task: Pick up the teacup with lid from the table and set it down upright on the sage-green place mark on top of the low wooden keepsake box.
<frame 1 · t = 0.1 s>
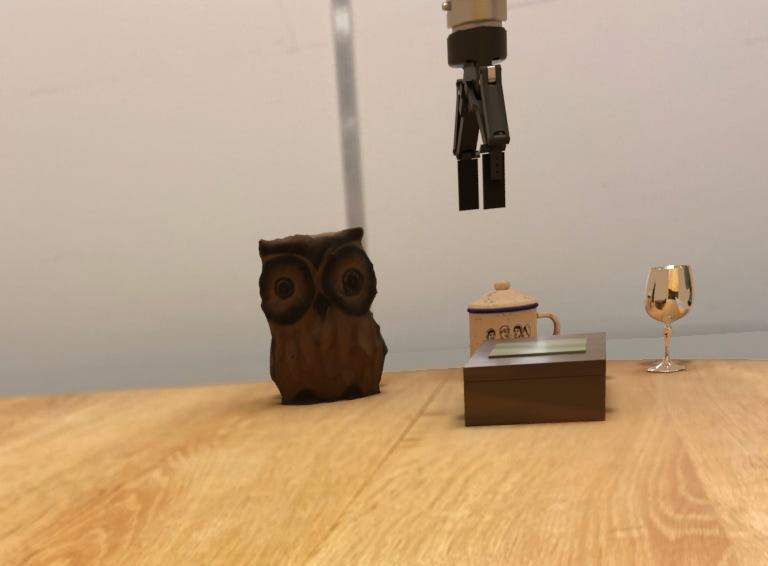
hand: (481, 209, 142), 20 cm above the table, tool pointing down, fingers open, 13 cm apart
teacup with lid: (514, 373, 141), on the table
owl: (329, 396, 138), on the table
wineglass: (666, 370, 132), on the table
wooden keepsake box: (539, 403, 118), on the table
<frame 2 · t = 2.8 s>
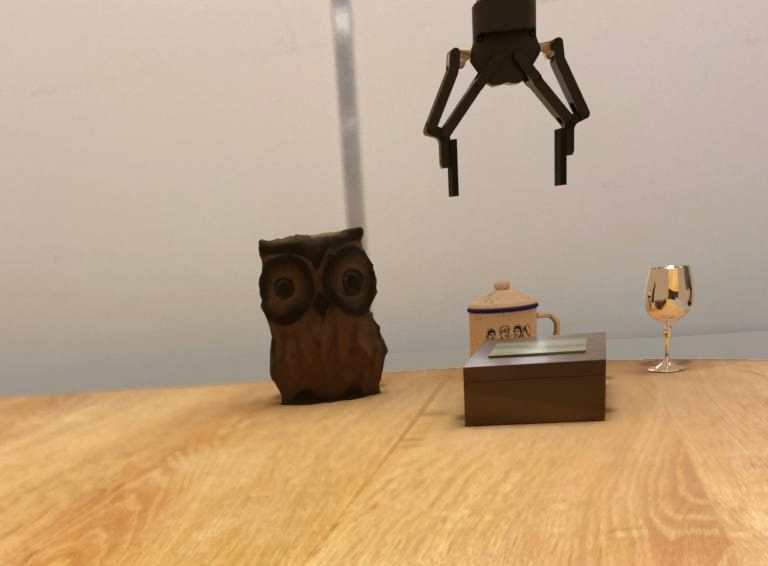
hand: (507, 191, 134), 22 cm above the table, tool pointing down, fingers open, 13 cm apart
nothing on the table moved.
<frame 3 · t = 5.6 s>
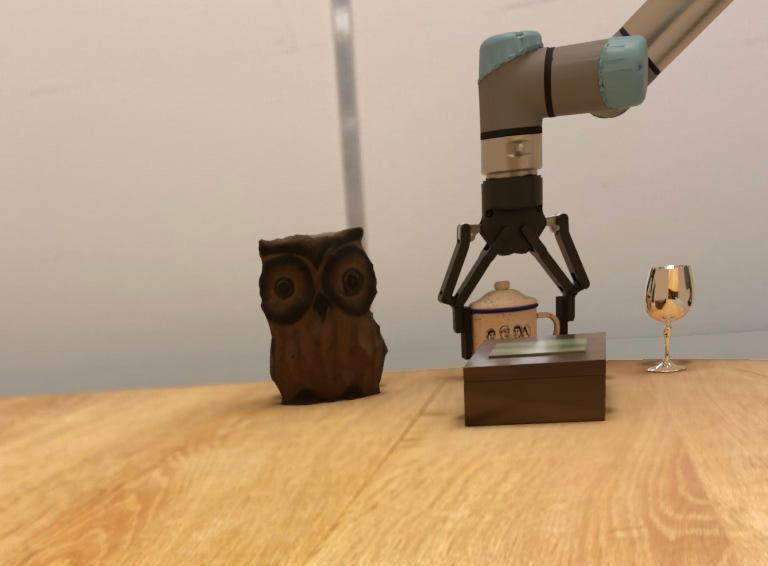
hand: (514, 353, 140), 2 cm above the table, tool pointing down, fingers closed on teacup with lid, 12 cm apart
teacup with lid: (514, 374, 141), on the table, touching gripper
everything else where it was.
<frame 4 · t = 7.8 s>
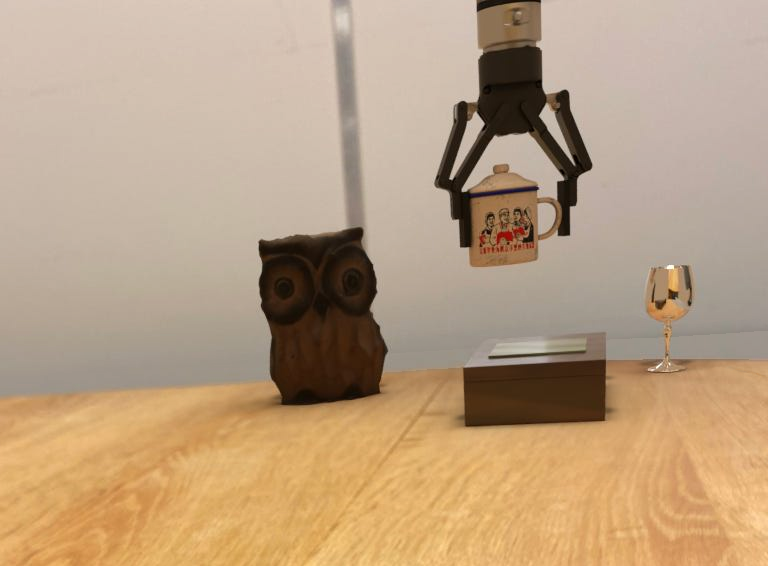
hand: (514, 241, 135), 16 cm above the table, tool pointing down, fingers closed on teacup with lid, 12 cm apart
teacup with lid: (515, 264, 136), point 14 cm above the table, touching gripper
everything else where it was.
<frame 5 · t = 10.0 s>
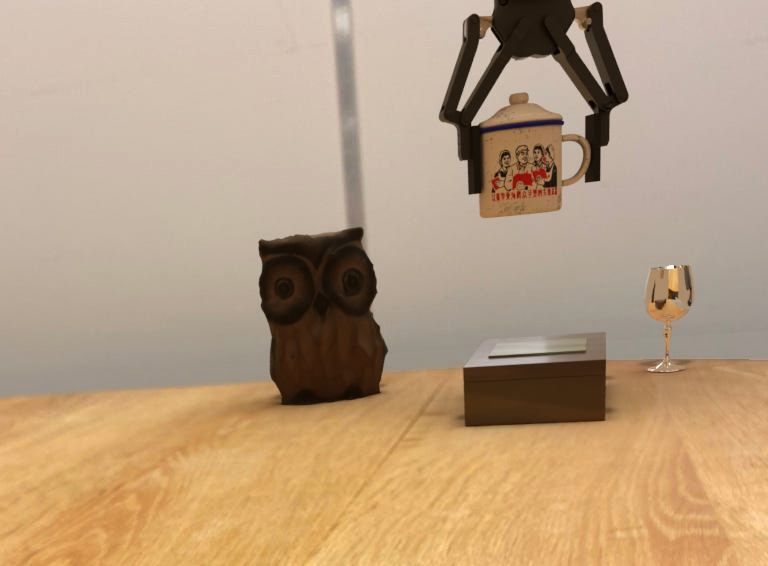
hand: (533, 188, 113), 22 cm above the table, tool pointing down, fingers closed on teacup with lid, 12 cm apart
teacup with lid: (534, 215, 114), point 20 cm above the table, touching gripper
everything else where it was.
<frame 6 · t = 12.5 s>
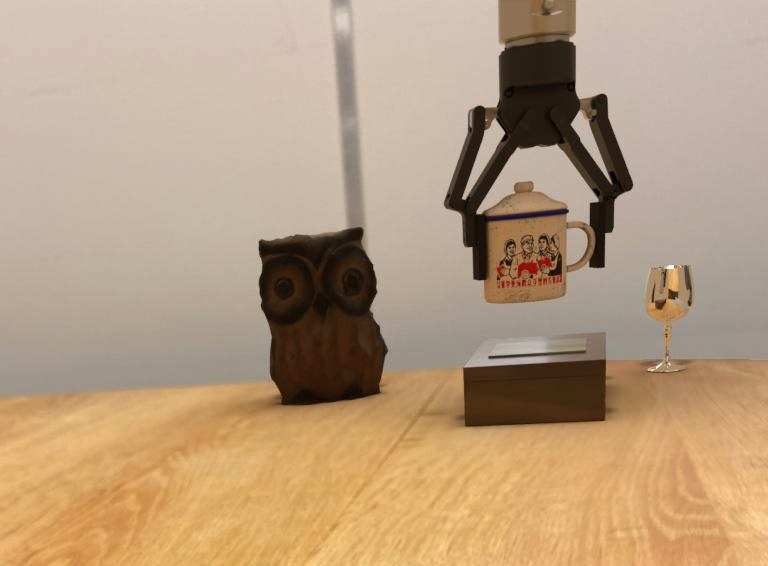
hand: (538, 274, 113), 14 cm above the table, tool pointing down, fingers closed on teacup with lid, 12 cm apart
teacup with lid: (538, 299, 114), point 11 cm above the table, touching gripper
everything else where it was.
when the fingers open (9 cm above the table, at t = 14.6 s): teacup with lid stays where it is, resting on wooden keepsake box.
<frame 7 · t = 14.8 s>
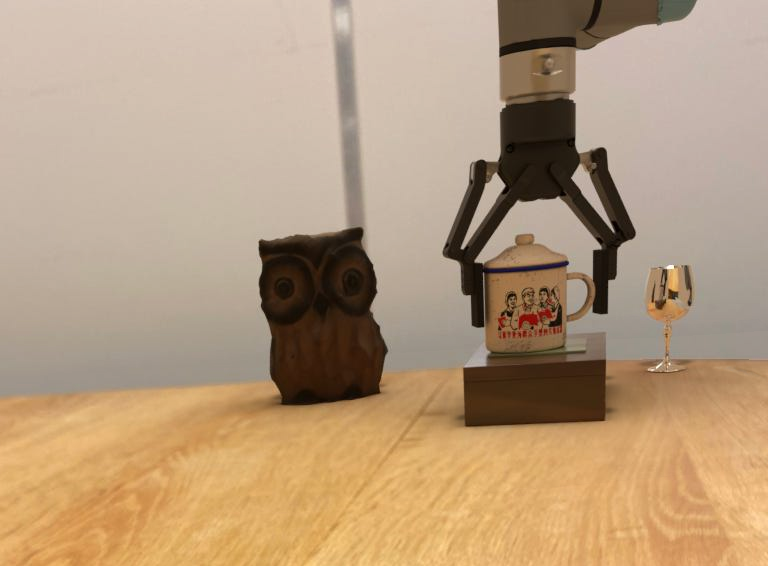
hand: (539, 320, 115), 9 cm above the table, tool pointing down, fingers open, 13 cm apart
teacup with lid: (539, 348, 116), point 6 cm above the table, touching wooden keepsake box
everything else where it was.
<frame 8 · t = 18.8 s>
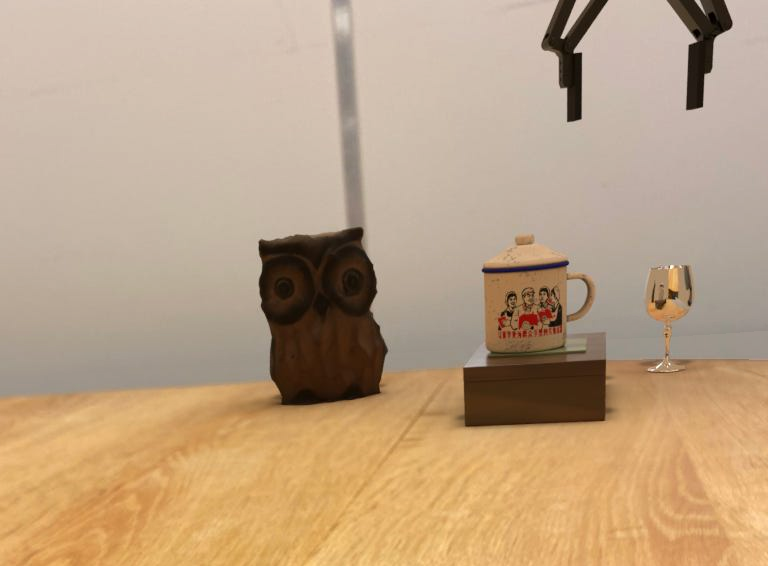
hand: (634, 115, 118), 29 cm above the table, tool pointing down, fingers open, 13 cm apart
nothing on the table moved.
at the end: teacup with lid inside the target area on the wooden keepsake box (0.0 cm from its centre), point 6.0 cm above the wooden keepsake box's base; teacup with lid tilted 0°; the gripper is holding nothing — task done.
